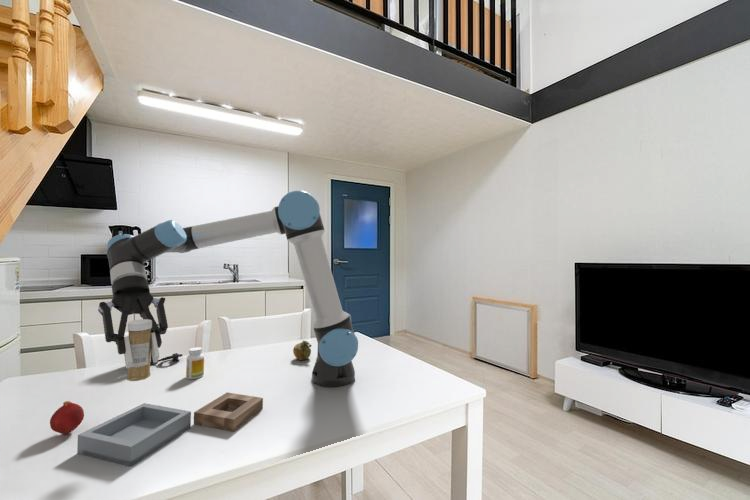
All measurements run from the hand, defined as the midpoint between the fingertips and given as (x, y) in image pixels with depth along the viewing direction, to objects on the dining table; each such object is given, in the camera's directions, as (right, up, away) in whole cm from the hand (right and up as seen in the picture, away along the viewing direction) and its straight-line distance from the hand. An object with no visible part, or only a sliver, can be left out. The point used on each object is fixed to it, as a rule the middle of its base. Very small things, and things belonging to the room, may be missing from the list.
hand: (143, 361), depth 71 cm
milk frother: (-33, -19, +52) cm, 65 cm away
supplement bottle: (-11, -19, +40) cm, 45 cm away
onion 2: (+22, -20, +60) cm, 67 cm away
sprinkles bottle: (-3, -5, +2) cm, 6 cm away
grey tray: (-3, -19, +2) cm, 19 cm away
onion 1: (-21, -19, +4) cm, 29 cm away
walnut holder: (+13, -19, +14) cm, 27 cm away
